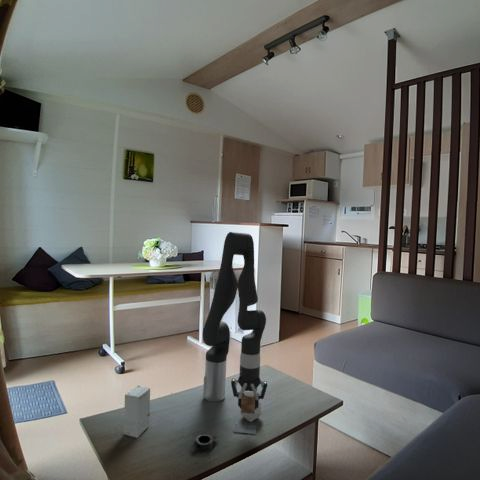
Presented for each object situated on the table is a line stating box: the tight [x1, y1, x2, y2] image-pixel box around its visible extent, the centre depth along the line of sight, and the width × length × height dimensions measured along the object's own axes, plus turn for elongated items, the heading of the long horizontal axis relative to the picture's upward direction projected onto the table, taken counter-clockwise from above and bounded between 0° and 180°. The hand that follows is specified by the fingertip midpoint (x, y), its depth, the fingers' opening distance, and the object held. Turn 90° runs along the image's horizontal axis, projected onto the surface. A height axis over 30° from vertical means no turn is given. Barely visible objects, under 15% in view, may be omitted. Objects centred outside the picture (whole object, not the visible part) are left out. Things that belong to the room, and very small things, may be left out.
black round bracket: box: [189, 433, 218, 453], centre depth 121 cm, size 8×10×3 cm
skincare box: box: [123, 385, 151, 439], centre depth 128 cm, size 8×6×15 cm
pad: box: [233, 423, 257, 435], centre depth 131 cm, size 8×5×1 cm, turn 85°
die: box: [239, 401, 263, 423], centre depth 139 cm, size 8×9×10 cm
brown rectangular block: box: [241, 391, 255, 414], centre depth 131 cm, size 5×4×6 cm
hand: (248, 407), depth 131 cm, fingers closed on brown rectangular block, 5 cm apart
